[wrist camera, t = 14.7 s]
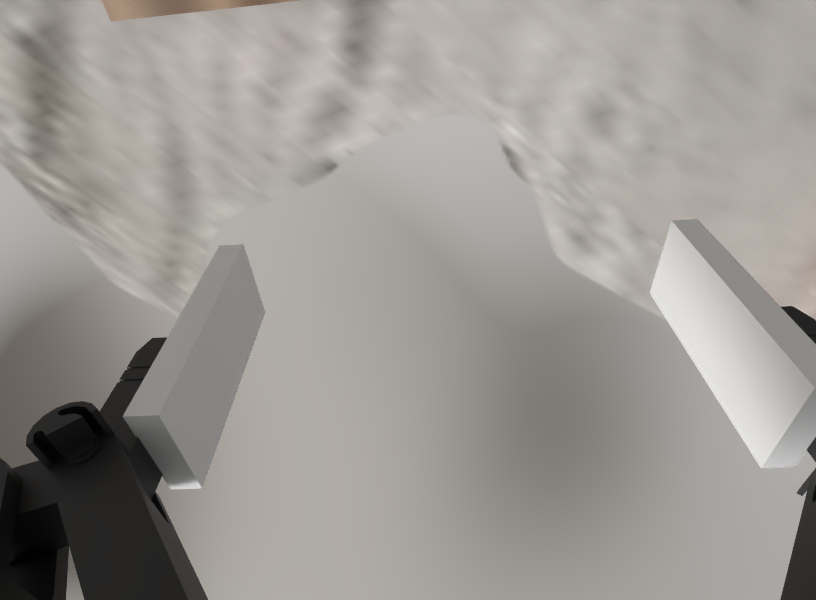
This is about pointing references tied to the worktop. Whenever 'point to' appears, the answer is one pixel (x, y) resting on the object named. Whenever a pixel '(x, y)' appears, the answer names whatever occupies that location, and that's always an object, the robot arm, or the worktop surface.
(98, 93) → the worktop surface
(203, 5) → the seat plate
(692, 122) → the worktop surface
